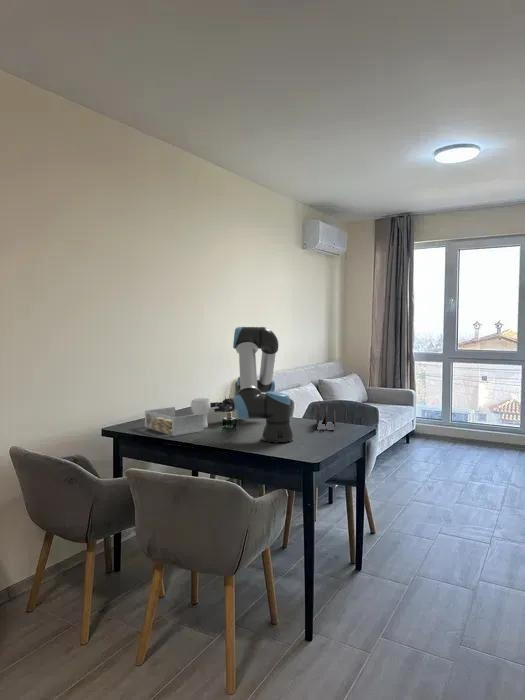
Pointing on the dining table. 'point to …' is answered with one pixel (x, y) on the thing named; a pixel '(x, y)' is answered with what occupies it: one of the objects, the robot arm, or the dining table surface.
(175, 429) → the grey open storage bin
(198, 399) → the cup
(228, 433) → the dining table surface
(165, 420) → the offcut bundle
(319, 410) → the letter holder
